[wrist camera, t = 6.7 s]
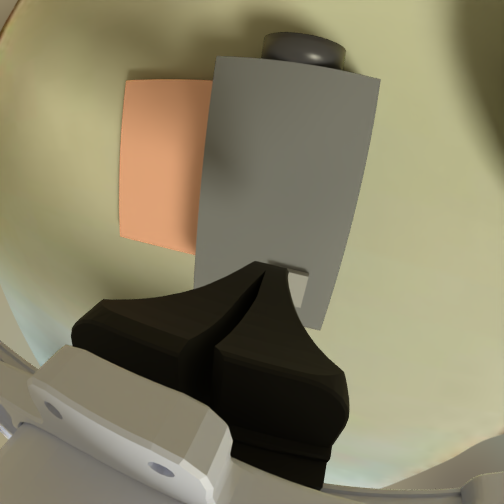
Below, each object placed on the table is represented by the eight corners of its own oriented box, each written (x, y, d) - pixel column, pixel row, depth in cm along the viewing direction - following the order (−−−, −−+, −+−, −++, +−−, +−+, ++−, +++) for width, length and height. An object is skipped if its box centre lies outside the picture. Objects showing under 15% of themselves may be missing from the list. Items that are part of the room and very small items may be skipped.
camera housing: (324, 292, 22) (319, 334, 17) (218, 266, 23) (190, 300, 19) (373, 66, 15) (385, 47, 11) (245, 46, 17) (218, 26, 12)
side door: (200, 256, 22) (120, 236, 23) (204, 251, 23) (125, 232, 24) (218, 80, 17) (126, 80, 18) (222, 82, 18) (132, 81, 19)
